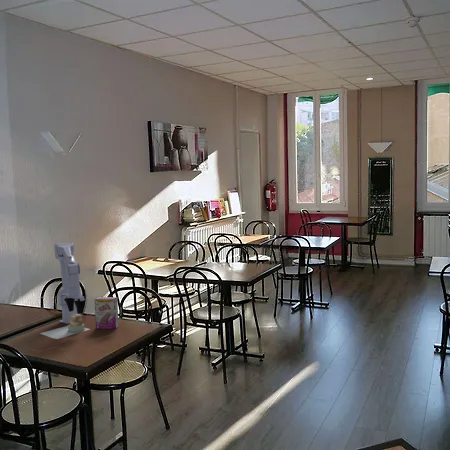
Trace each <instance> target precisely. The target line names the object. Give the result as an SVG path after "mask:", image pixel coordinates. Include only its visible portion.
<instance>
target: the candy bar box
mask: <svg viewBox="0 0 450 450" xmlns="http://www.w3.org/2000/svg"><path fill="white" fill-rule="evenodd" d="M118 307H119V305H118V297H116V296H110V297H109V296H108V297H107V296H96V298H94V313H95V315H94V316H95V317H94V318H95V329H98V330H99V329H100V330H103V329H106V330H107V329H109V330H111V329H112V330H116V329H117V328H119V308H118Z"/></svg>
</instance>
